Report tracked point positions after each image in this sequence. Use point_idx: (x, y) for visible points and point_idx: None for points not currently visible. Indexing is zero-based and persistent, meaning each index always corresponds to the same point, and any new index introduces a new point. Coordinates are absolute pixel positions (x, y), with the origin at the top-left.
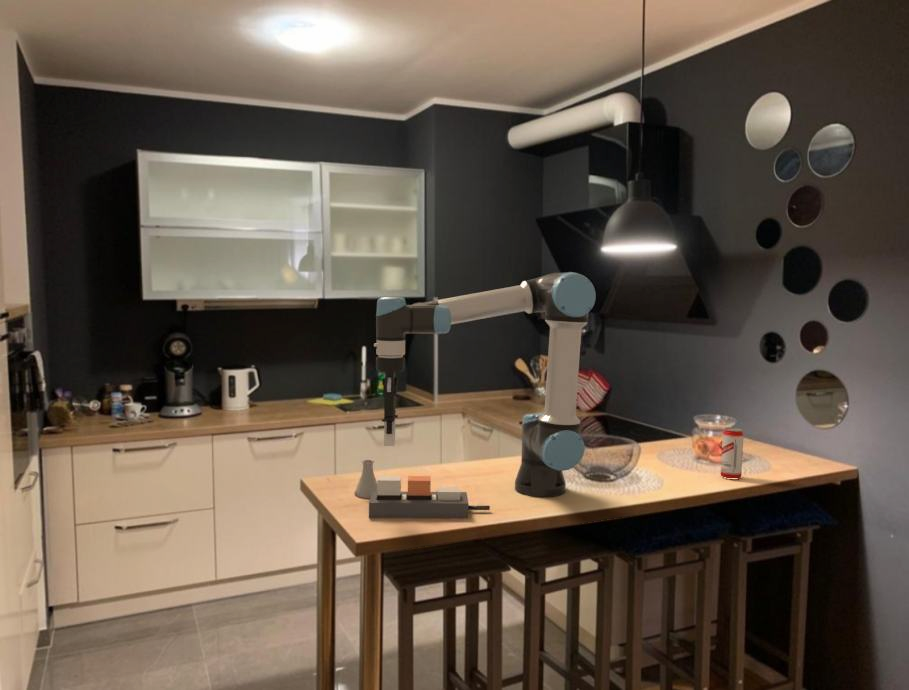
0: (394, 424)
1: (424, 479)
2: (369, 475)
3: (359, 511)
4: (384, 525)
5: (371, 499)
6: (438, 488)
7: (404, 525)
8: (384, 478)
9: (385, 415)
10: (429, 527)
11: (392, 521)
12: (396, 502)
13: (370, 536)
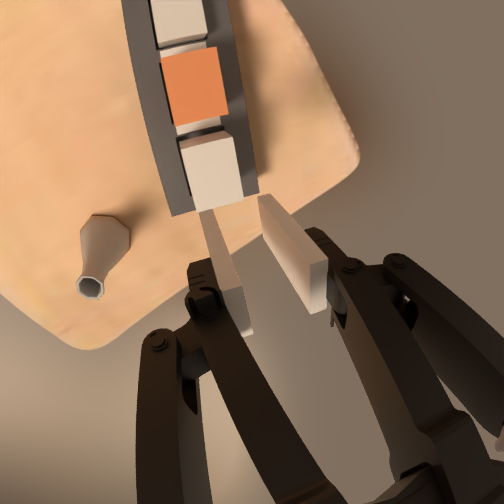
0: (318, 248)
1: (204, 67)
2: (104, 258)
3: (214, 212)
4: (287, 139)
5: None
6: (172, 37)
7: (282, 100)
8: (221, 188)
9: (412, 309)
10: (285, 51)
11: (262, 129)
12: (245, 132)
13: (341, 152)
